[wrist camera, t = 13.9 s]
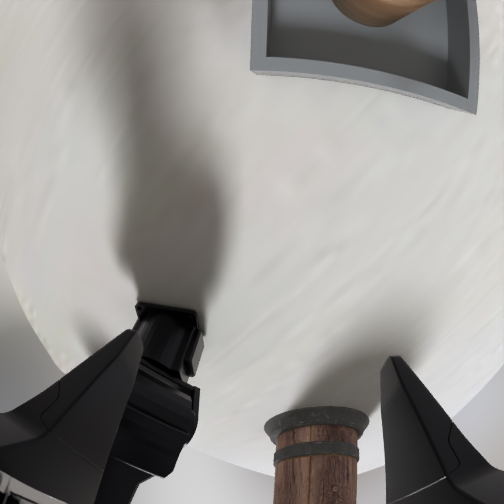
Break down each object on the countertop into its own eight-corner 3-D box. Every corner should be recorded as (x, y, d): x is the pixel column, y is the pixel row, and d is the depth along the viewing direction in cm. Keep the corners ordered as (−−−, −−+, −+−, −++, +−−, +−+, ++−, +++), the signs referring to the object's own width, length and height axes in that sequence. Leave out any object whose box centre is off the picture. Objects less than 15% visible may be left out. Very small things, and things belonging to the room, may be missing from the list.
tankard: (258, 407, 35) (238, 540, 18) (379, 400, 33) (390, 533, 16) (271, 455, 47) (260, 540, 30) (354, 452, 44) (354, 537, 27)
